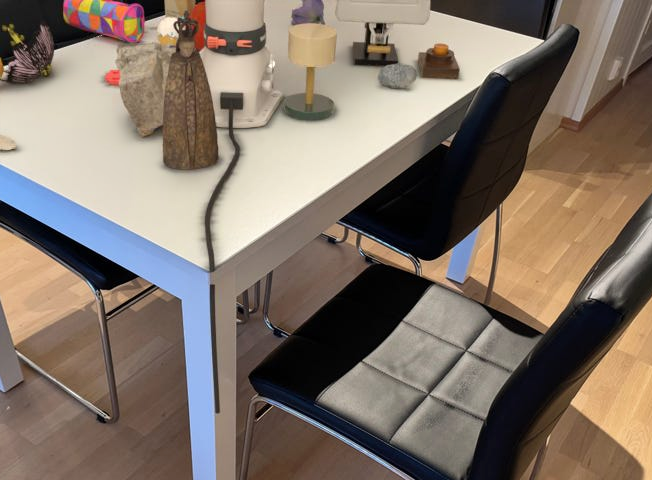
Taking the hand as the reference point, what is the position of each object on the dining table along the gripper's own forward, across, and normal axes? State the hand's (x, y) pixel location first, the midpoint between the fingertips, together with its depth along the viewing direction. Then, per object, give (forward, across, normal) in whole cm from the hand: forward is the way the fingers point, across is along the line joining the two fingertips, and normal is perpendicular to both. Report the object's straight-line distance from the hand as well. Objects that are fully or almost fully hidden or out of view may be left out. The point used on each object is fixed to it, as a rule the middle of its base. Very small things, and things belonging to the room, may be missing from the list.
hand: (378, 43), depth 152 cm
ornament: (+5, -48, +5) cm, 48 cm away
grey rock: (+6, +4, -12) cm, 13 cm away
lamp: (+5, -15, -25) cm, 30 cm away
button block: (+6, +14, +1) cm, 15 cm away
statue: (+5, -36, -50) cm, 61 cm away
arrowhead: (+4, -77, -45) cm, 89 cm away
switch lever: (+1, 0, +4) cm, 4 cm away
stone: (-2, -49, -27) cm, 56 cm away
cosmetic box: (+6, -46, +14) cm, 48 cm away
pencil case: (0, -67, +12) cm, 68 cm away
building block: (+5, -54, -16) cm, 57 cm away
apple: (+6, -38, +7) cm, 39 cm away
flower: (+6, -14, +26) cm, 30 cm away
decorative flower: (0, -72, -22) cm, 75 cm away
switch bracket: (+6, 0, +8) cm, 10 cm away
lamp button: (+2, +14, +1) cm, 14 cm away
